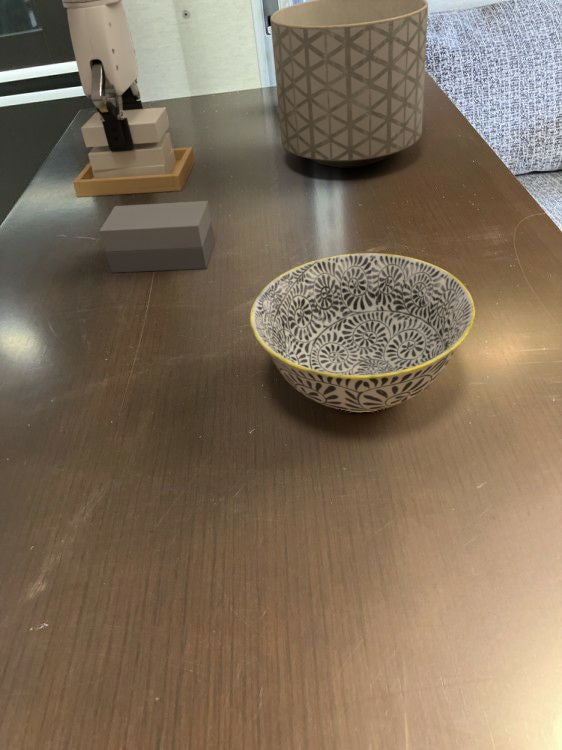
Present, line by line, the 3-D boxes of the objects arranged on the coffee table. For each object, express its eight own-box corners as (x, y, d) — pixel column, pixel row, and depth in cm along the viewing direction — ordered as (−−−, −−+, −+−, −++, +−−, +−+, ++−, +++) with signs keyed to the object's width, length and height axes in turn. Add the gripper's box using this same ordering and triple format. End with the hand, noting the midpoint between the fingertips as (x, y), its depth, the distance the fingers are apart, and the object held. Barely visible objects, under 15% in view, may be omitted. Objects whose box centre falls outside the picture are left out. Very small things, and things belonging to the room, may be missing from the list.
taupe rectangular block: (94, 186, 86) (85, 154, 83) (109, 167, 91) (100, 136, 88) (167, 182, 84) (160, 149, 82) (177, 162, 90) (171, 131, 87)
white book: (86, 147, 82) (80, 128, 81) (100, 130, 87) (95, 112, 86) (159, 142, 81) (155, 122, 80) (169, 125, 86) (165, 107, 85)
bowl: (223, 380, 51) (208, 303, 47) (366, 305, 58) (366, 231, 53) (352, 495, 41) (349, 411, 36) (509, 388, 47) (525, 305, 43)
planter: (405, 188, 77) (411, 23, 66) (263, 180, 83) (246, 28, 72) (431, 135, 91) (440, -10, 79) (307, 131, 97) (299, -3, 85)
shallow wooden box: (76, 197, 85) (72, 182, 84) (99, 167, 93) (95, 153, 92) (181, 190, 83) (178, 175, 82) (195, 161, 91) (192, 146, 90)
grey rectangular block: (111, 273, 67) (98, 230, 64) (126, 246, 72) (114, 205, 69) (206, 268, 66) (198, 225, 63) (215, 242, 71) (207, 200, 68)
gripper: (84, -20, 81) (120, 121, 92) (34, 4, 67) (83, 166, 79) (140, -26, 80) (169, 118, 91) (101, -3, 66) (140, 162, 78)
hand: (129, 139), depth 85 cm, fingers closed on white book, 6 cm apart
